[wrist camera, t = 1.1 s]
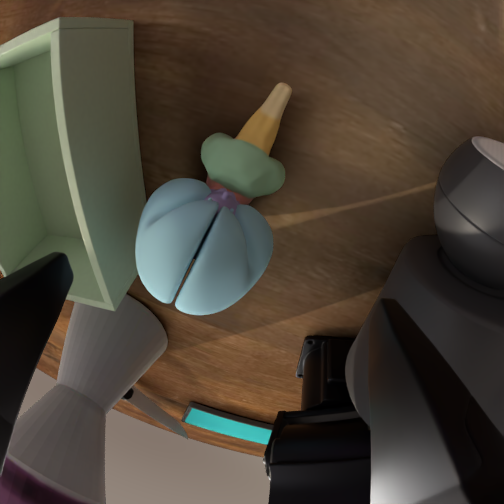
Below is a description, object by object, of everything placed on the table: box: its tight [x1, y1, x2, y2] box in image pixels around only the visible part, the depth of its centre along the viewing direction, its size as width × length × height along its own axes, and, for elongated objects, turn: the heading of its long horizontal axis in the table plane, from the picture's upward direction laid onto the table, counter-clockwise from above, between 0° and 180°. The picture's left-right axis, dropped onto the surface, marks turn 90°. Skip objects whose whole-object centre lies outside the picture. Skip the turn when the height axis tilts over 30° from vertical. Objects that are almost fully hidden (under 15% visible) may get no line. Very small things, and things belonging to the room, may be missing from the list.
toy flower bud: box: [135, 83, 292, 315], centre depth 14 cm, size 7×9×12 cm
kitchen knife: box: [121, 386, 188, 439], centre depth 37 cm, size 22×1×3 cm, turn 32°
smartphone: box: [182, 402, 274, 445], centre depth 39 cm, size 7×1×15 cm
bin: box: [0, 17, 147, 311], centre depth 15 cm, size 16×11×7 cm
